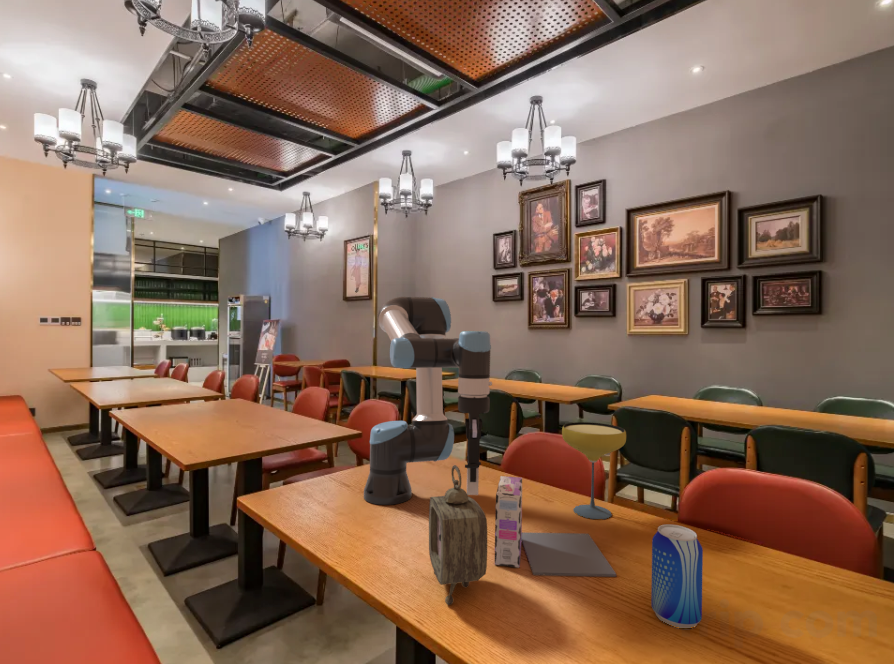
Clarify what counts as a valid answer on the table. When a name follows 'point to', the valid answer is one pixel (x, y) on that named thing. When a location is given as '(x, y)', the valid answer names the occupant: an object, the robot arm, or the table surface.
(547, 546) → the mat
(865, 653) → the table surface
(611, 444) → the cocktail glass
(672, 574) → the beer can
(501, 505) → the candy box
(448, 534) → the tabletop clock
